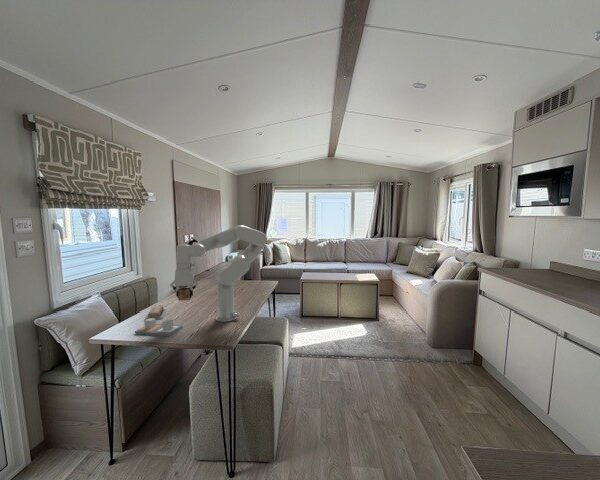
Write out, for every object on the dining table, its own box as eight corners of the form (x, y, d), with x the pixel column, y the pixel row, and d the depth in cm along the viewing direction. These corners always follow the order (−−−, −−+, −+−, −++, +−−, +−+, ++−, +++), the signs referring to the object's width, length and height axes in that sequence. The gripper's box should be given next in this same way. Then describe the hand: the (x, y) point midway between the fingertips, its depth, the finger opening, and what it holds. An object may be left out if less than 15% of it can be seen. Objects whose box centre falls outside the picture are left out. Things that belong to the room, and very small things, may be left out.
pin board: (182, 328, 163) (182, 317, 162) (168, 336, 151) (167, 325, 151) (151, 325, 167) (150, 315, 167) (135, 334, 155) (134, 322, 155)
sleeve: (191, 297, 171) (190, 287, 171) (189, 300, 166) (189, 289, 165) (180, 298, 170) (179, 287, 169) (178, 300, 164) (178, 290, 164)
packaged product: (162, 312, 178) (144, 313, 175) (163, 319, 179) (145, 321, 176) (166, 303, 195) (150, 305, 193) (167, 310, 196) (150, 312, 193)
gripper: (200, 264, 172) (201, 295, 173) (168, 265, 168) (169, 296, 169) (199, 266, 165) (200, 298, 166) (166, 267, 161) (167, 300, 162)
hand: (184, 297), depth 168 cm, fingers closed on sleeve, 6 cm apart
